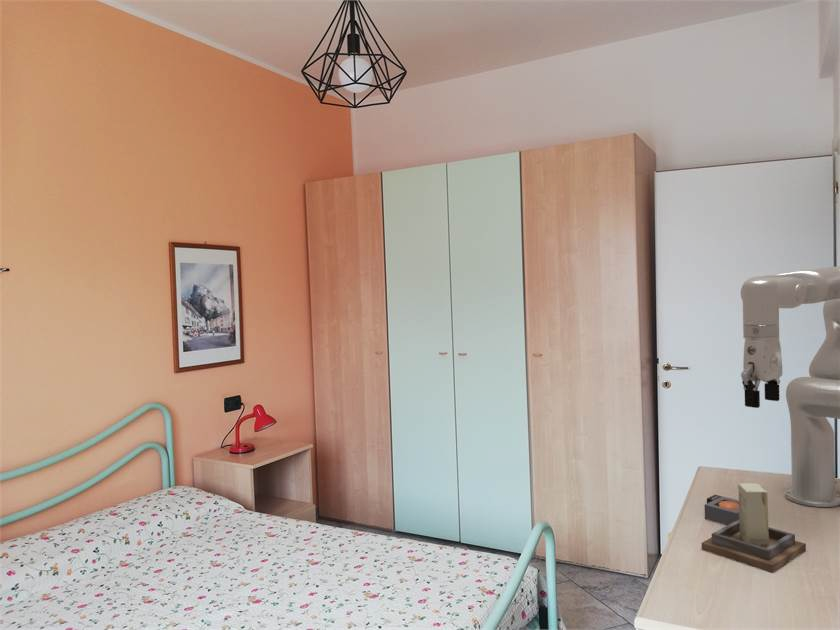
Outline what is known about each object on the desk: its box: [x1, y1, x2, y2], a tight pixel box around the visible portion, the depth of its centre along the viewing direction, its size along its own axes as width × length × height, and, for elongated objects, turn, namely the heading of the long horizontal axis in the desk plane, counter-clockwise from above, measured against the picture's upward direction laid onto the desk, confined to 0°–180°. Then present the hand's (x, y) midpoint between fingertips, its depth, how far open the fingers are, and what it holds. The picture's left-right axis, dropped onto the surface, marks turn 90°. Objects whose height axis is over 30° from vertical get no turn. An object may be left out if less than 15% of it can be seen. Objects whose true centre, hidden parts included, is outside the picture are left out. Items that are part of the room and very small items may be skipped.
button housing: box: [704, 496, 739, 526], centre depth 157 cm, size 8×8×4 cm
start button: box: [719, 501, 739, 510], centre depth 157 cm, size 4×4×2 cm
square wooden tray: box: [701, 519, 807, 574], centre depth 140 cm, size 15×15×4 cm
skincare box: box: [737, 482, 769, 548], centre depth 140 cm, size 6×4×12 cm
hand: (762, 403), depth 154 cm, fingers open, 9 cm apart
